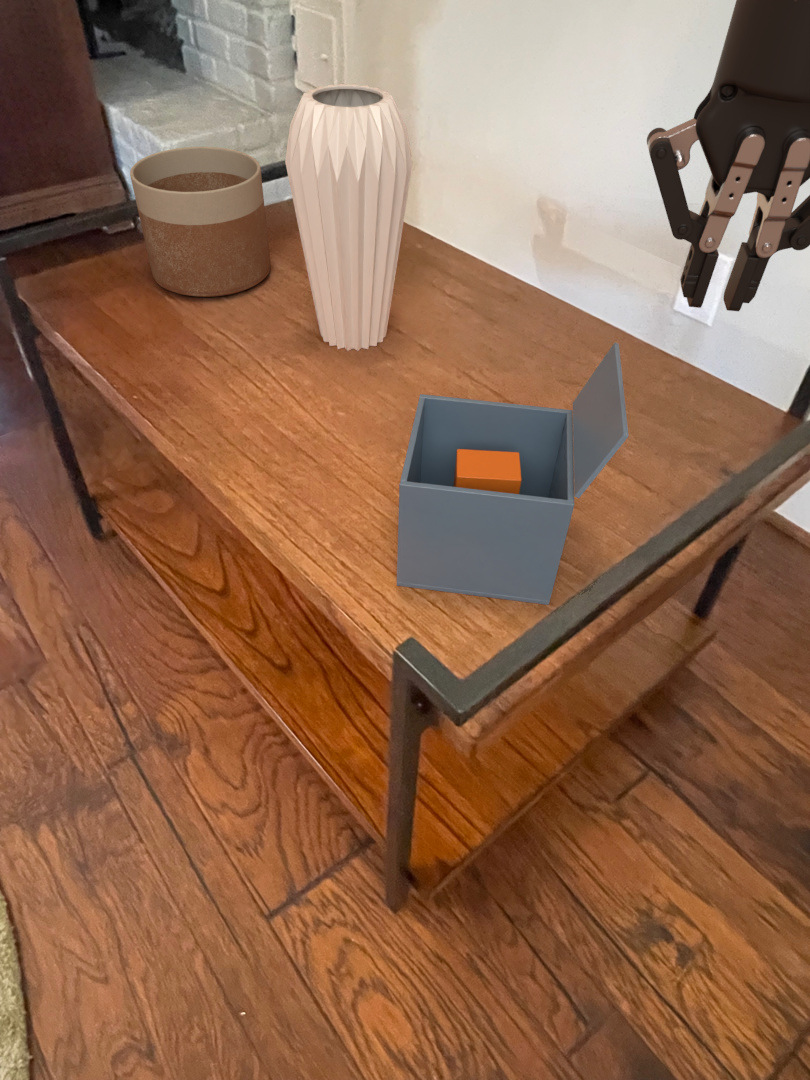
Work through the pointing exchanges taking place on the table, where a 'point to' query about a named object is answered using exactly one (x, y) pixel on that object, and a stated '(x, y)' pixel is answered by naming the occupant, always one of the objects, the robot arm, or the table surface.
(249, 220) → the planter
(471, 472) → the block
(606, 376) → the gray box lid
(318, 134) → the vase
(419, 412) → the blue box
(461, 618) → the table surface
